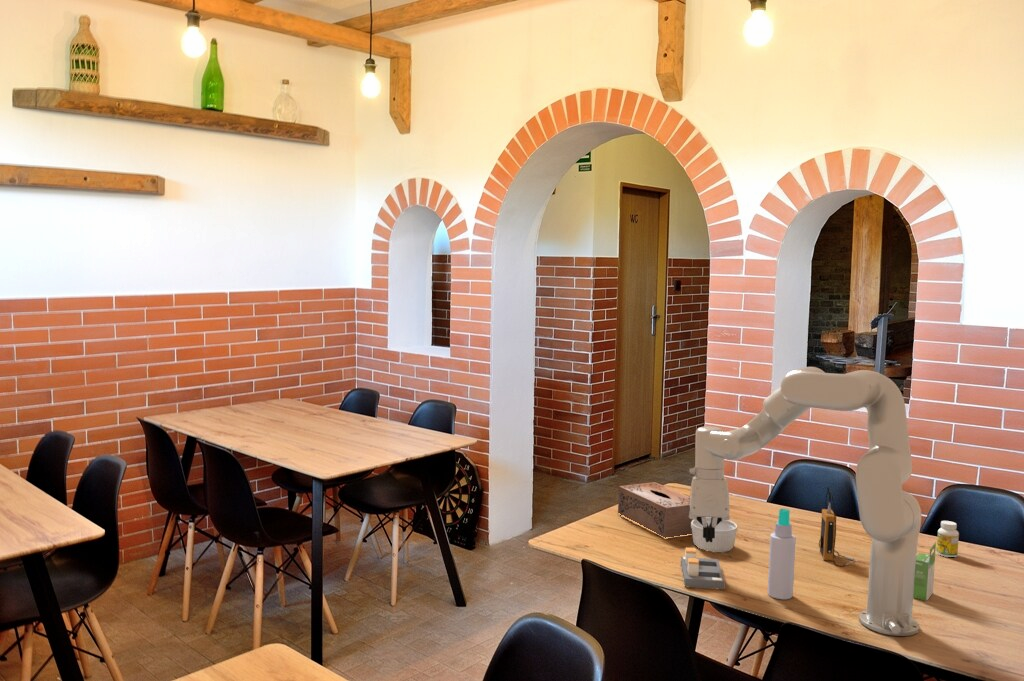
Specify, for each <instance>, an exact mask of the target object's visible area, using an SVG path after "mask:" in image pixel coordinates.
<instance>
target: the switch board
mask: <svg viewBox="0 0 1024 681" xmlns="http://www.w3.org/2000/svg"><path fill="white" fill-rule="evenodd" d="M696 558H697V559H698V561H699V573H698V576H688V575H687V568H688V565H687V564H685V556H680V567H682V570H681V573H682V572H683V575H682V579H683V578H684V581H683V585H685V586H689V587H688V588H693V587H696V589H706V588H718V589H717V590H720V589H725V588H726V586H725V585H726V581H725V578H724V574H723V570H722V568H721V564H720V560H719V559H716V558H708V557H707V558H706V557H696Z"/></svg>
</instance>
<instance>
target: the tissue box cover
mask: <svg viewBox="0 0 1024 681" xmlns="http://www.w3.org/2000/svg"><path fill="white" fill-rule="evenodd" d="M617 498H618V503H617V506H618V507H617V514H618V513H620V514H621V515H624V516H625V517H627V518H629V519H631V520H633V521H635V522H637V523H639V524H640V525H643V526H644V527H646V528H648V529H650V530H652V531H654V532H656V533H657V534H659V535H661V536H663V537H665V538H666V537H674V536H680V535H687V534H692V528H691V522H692V520H694V519H690V518H689V512H690V495H687V494H684V493H682V492H681V491H677V490H675V489H673V488H670V487H668V486H666V485H663V484H660V483H658V482H656V481H652V482H642V483H636V484H628V485H627V484H626V485H618V497H617Z"/></svg>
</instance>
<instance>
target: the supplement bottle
mask: <svg viewBox="0 0 1024 681" xmlns="http://www.w3.org/2000/svg"><path fill="white" fill-rule="evenodd" d="M957 527H958V525H957V523H956V522H954V521H949V520H941V521H940V528H939V529H938V530H937V541H936V554H937V555H938V554H939V556H940V555H941V556H940V557H943V556H944V558H948V557H955V558H957V557H958V554H959V539H960V538H959V537H960V532H959V531H958V530H957Z"/></svg>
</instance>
